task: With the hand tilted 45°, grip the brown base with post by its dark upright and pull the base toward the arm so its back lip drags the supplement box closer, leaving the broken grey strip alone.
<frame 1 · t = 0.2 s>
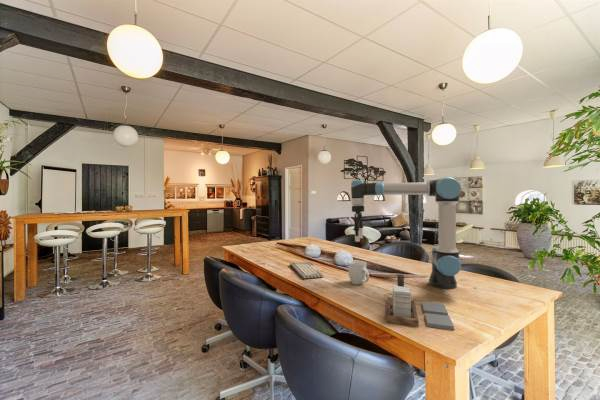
hand: (359, 239, 167), 28 cm above the table, tool pointing down, fingers open, 13 cm apart
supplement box: (401, 316, 125), resting in brown base with post
mug: (358, 284, 169), on the table
mechanical keyboard: (306, 272, 197), on the table
broken grey strip: (436, 315, 125), on the table
brown base with post: (401, 296, 128), point 7 cm above the table, slide at 0.0 cm
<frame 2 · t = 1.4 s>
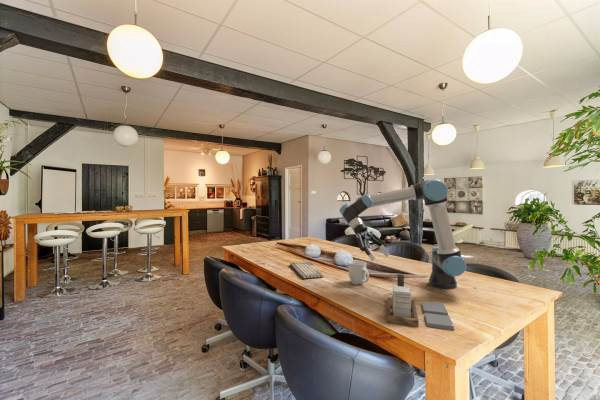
hand: (381, 257, 145), 22 cm above the table, tool tilted 45°, fingers open, 13 cm apart
nothing on the table moved.
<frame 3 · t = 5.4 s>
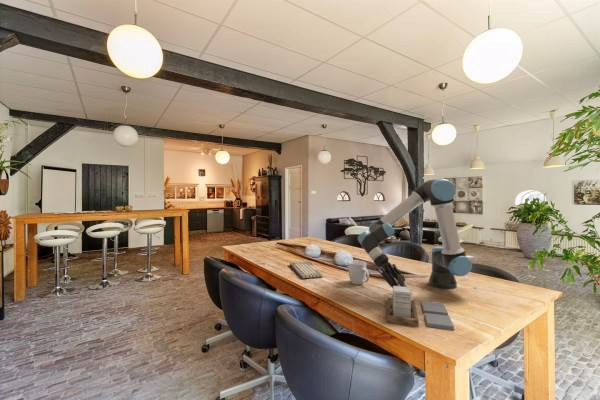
hand: (407, 295, 135), 5 cm above the table, tool tilted 45°, fingers closed on brown base with post, 4 cm apart
brown base with post: (401, 296, 128), point 7 cm above the table, slide at 0.0 cm, touching gripper
everything else where it was.
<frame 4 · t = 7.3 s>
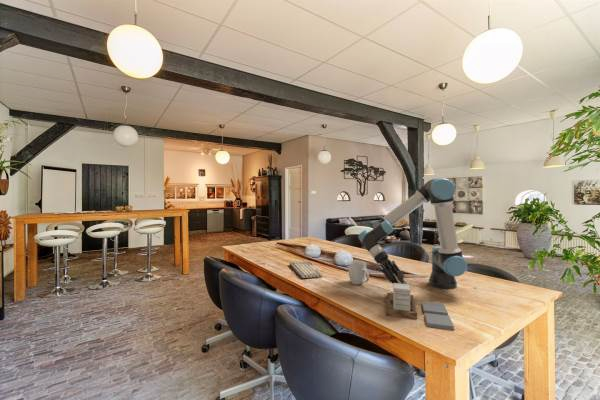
hand: (406, 290, 142), 5 cm above the table, tool tilted 45°, fingers closed on brown base with post, 4 cm apart
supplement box: (401, 312, 128), resting in brown base with post
brown base with post: (400, 291, 135), point 7 cm above the table, slide at 7.2 cm, touching gripper
everything else where it was.
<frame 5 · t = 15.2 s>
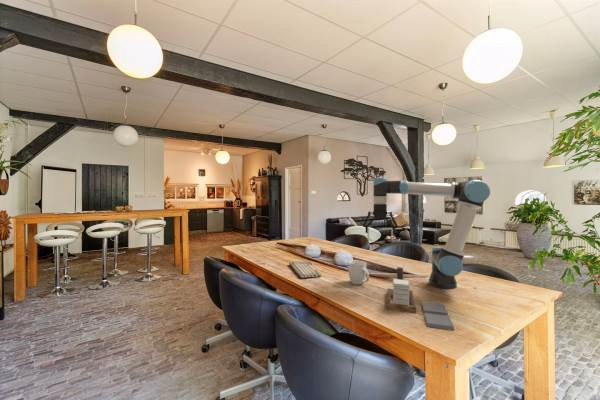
hand: (380, 239, 162), 29 cm above the table, tool pointing down, fingers open, 13 cm apart
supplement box: (401, 307, 135), resting in brown base with post
brown base with post: (400, 286, 142), point 7 cm above the table, slide at 13.9 cm
at the end: brown base with post slide at 13.9 cm; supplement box inside the target area (2.0 cm from its centre), resting in brown base with post; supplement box tilted 0° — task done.
